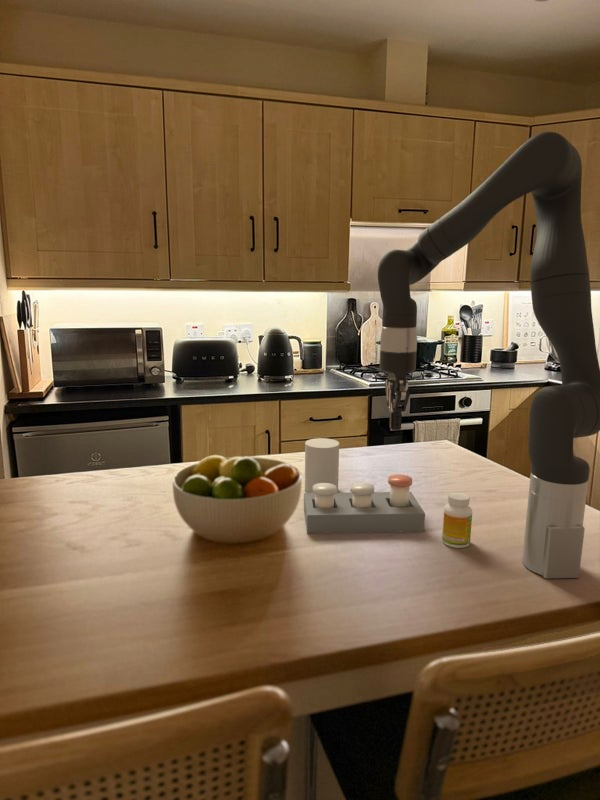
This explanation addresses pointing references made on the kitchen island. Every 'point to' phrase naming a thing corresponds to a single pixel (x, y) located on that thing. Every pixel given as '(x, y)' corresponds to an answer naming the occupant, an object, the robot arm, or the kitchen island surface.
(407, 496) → the red plunger
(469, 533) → the supplement bottle
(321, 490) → the far plunger
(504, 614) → the kitchen island surface
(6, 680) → the kitchen island surface
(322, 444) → the white cylinder
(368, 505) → the mid plunger
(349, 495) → the panel
